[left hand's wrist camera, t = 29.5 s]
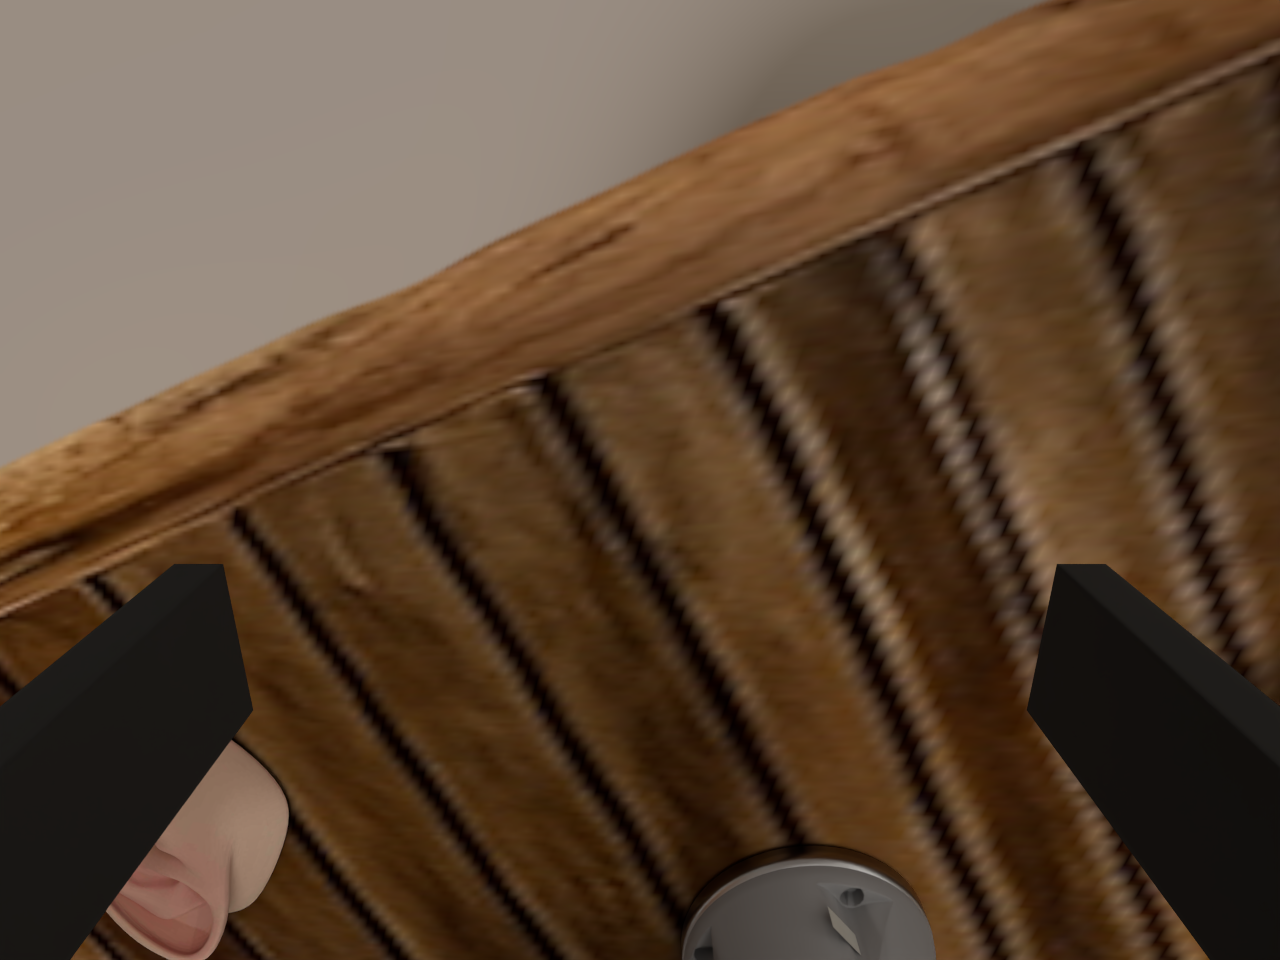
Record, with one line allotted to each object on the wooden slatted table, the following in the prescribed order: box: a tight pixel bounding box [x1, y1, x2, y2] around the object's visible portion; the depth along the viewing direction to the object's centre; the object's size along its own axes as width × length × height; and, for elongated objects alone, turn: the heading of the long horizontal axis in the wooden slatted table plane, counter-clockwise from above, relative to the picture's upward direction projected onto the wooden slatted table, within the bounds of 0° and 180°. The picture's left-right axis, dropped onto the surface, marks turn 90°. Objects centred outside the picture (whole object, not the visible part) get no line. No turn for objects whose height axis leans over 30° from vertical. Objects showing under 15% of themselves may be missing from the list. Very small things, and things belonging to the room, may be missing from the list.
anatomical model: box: [106, 740, 289, 960], centre depth 44 cm, size 13×4×12 cm
